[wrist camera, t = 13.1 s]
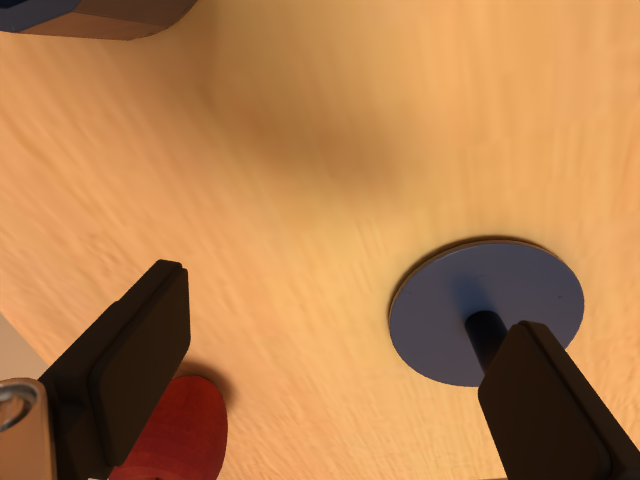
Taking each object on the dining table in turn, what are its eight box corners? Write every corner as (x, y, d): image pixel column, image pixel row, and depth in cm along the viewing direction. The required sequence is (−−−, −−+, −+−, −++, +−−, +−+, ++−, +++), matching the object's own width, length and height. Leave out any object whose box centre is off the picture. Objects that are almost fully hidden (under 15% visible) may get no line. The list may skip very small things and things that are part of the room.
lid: (413, 221, 25) (431, 269, 19) (613, 252, 25) (689, 309, 19) (372, 362, 32) (376, 428, 26) (528, 387, 32) (566, 458, 26)
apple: (235, 427, 38) (200, 538, 30) (149, 406, 38) (88, 513, 29) (250, 371, 34) (215, 482, 25) (153, 346, 33) (82, 451, 24)
